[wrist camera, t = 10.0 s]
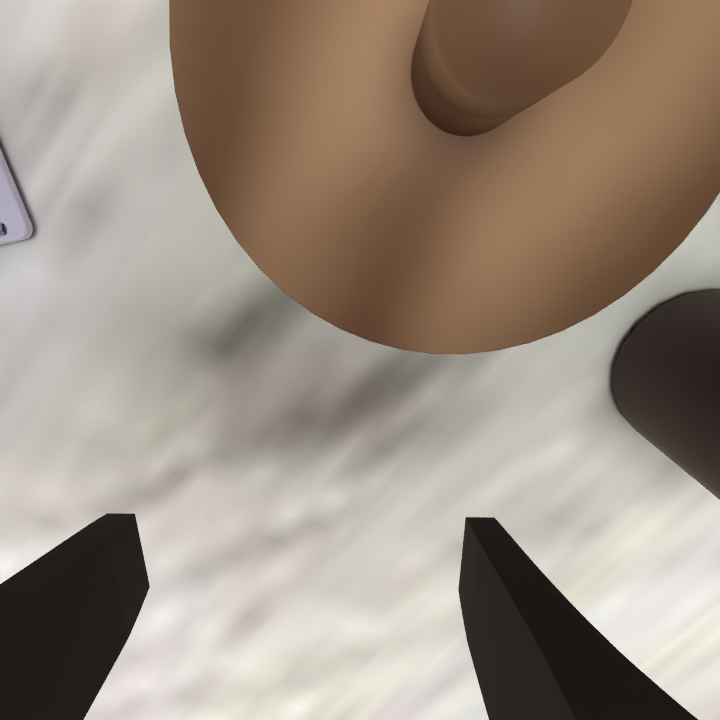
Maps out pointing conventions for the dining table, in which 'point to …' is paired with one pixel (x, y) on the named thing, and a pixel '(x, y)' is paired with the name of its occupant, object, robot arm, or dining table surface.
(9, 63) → the dining table surface
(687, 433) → the bottle
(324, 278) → the lid
